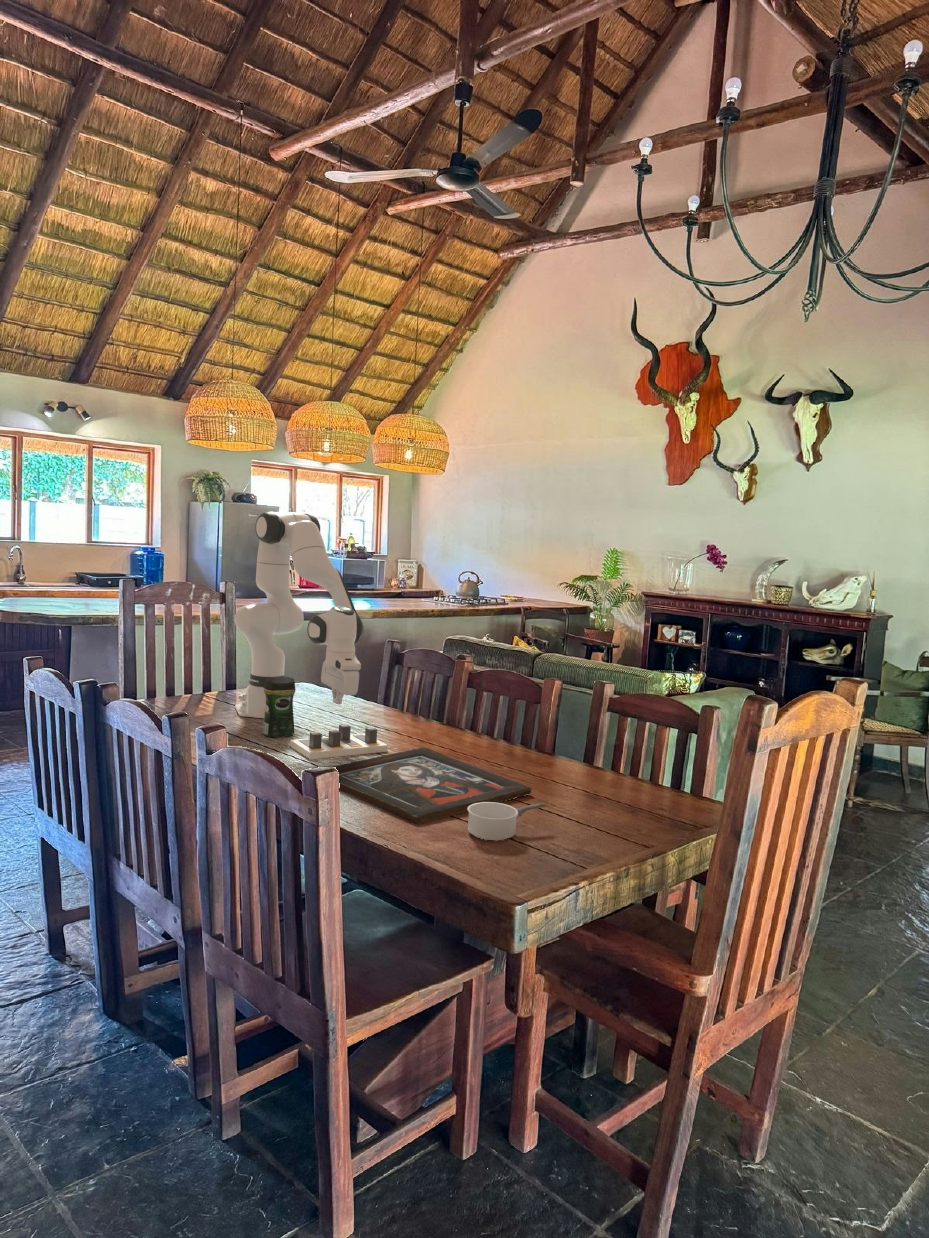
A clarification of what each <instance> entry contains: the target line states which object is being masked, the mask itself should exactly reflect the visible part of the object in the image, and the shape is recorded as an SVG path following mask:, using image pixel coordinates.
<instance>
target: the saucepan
mask: <svg viewBox="0 0 929 1238" xmlns="http://www.w3.org/2000/svg"><path fill="white" fill-rule="evenodd" d="M546 806H547V804H546V803H544V802H539V803H535V804H529V805H524V806H520V807H519V808H517V807H516V808H515V807H514V806H513V805H509V804H505V803H503V802H502V803H495V802H480V803H475V804H472V805H470V806H468V808H467V810H468V811H467V812H468V817H467V819H468V820H467V821H468V822H467V831H468V833H470V835H473V836H474V837H475V838H478V839H479V838H480V840H483V839H484V840H483V841H487V840H502V841H504V840H503V839H506V840H507V838H508V839H510V838H512V837H514V836H515V835H516V829H517V828H516V827H517V818H519V817H521V816H523V814H524V813H525V812H528V811H531V810H536V809H539V808H544V807H546Z"/></svg>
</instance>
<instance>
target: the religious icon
mask: <svg viewBox="0 0 929 1238" xmlns="http://www.w3.org/2000/svg"><path fill="white" fill-rule="evenodd" d="M330 767H336V769H337V770H338V772H339V783H340V789H339V790H341V791H343V792H345V793H346V794H349V795H352V796H353V797H356V798H358V799H360V800H362V801H365V802H367V803H369V804H372V805H374V806H375V807H379V808H380V809H384V810H386V811H388V812H390V813H393V814H395V815H396V816H398V817H401V818H403V819H405V820H408V821H410V822H411V823H415V824H416V825H417V824H418V825H419V824H425V823H428V822H431V821H435V820H440V819H442V818H448V817H451V816H455V815H459V814H463V813H467V812H468V810H467V808H468V806H470V805H472V804H475V803H480V802H495V803H498V802H501V801H505V802H507V801H506V800H509V799H513V798H515V797H521V796H524V795H526V794H530V793H532V787H531V786H527V785H525V784H524V783H520V782H518V781H515V780H512V779H510V778H509V779H508V778H506V777H503V776H502V775H501V776H500V775H498V774H495V773H493V772H490V771H488V770H485V769H482V768H479V767H477V766H476V765H475V766H474V765H472V764H469V763H466V762H463V761H461V760H458V759H456V758H453V757H450V756H449V755H445V754H443V753H441V752H437V751H435V750H433V749H430V748H428V747H419V748H413V749H409V750H405V751H399V752H396V753H389V754H384V755H380V756H376V757H372V758H368V759H363V760H356V761H352V762H347V763H343V764H338V765H332V766H330ZM530 795H531V794H530ZM524 797H525V796H524ZM521 798H522V797H521ZM513 800H514V799H513ZM509 801H510V800H509ZM466 811H467V812H466Z"/></svg>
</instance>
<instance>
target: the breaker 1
mask: <svg viewBox="0 0 929 1238" xmlns="http://www.w3.org/2000/svg"><path fill="white" fill-rule="evenodd" d="M322 737H323V735H322V733H321V732H320V731H319V732H318V731H314V732H312V731H311V732H309V746H310V747H312V748H321V741H322Z"/></svg>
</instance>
